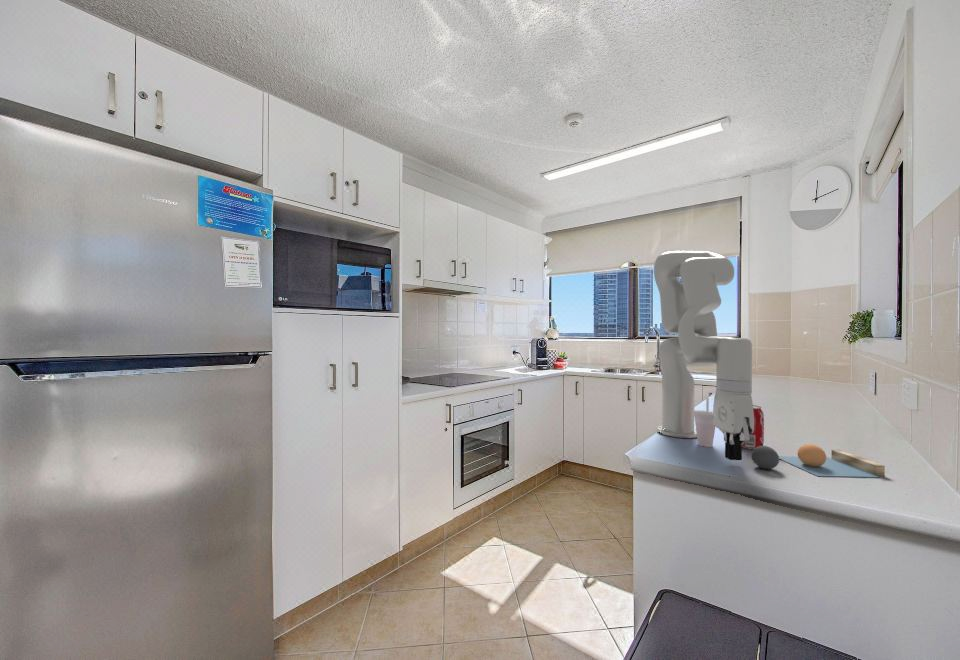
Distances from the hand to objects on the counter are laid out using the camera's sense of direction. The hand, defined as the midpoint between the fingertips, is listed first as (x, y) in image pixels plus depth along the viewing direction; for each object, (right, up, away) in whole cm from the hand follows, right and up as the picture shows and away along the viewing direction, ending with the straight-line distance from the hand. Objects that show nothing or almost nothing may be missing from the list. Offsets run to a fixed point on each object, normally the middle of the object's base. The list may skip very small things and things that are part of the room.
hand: (733, 458), depth 98 cm
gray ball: (+6, +1, -2) cm, 7 cm away
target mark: (+22, -2, -1) cm, 22 cm away
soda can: (+15, -2, +15) cm, 21 cm away
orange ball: (+19, +1, -1) cm, 19 cm away
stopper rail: (+30, -2, -1) cm, 30 cm away
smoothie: (+3, -2, +17) cm, 17 cm away
